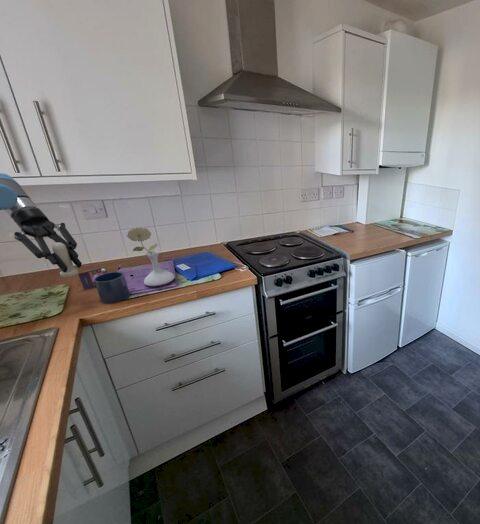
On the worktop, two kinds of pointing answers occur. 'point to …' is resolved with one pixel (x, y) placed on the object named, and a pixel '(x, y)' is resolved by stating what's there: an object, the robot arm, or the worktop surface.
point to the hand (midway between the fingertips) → (72, 267)
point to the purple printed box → (86, 277)
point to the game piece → (64, 259)
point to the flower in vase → (157, 274)
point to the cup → (112, 287)
